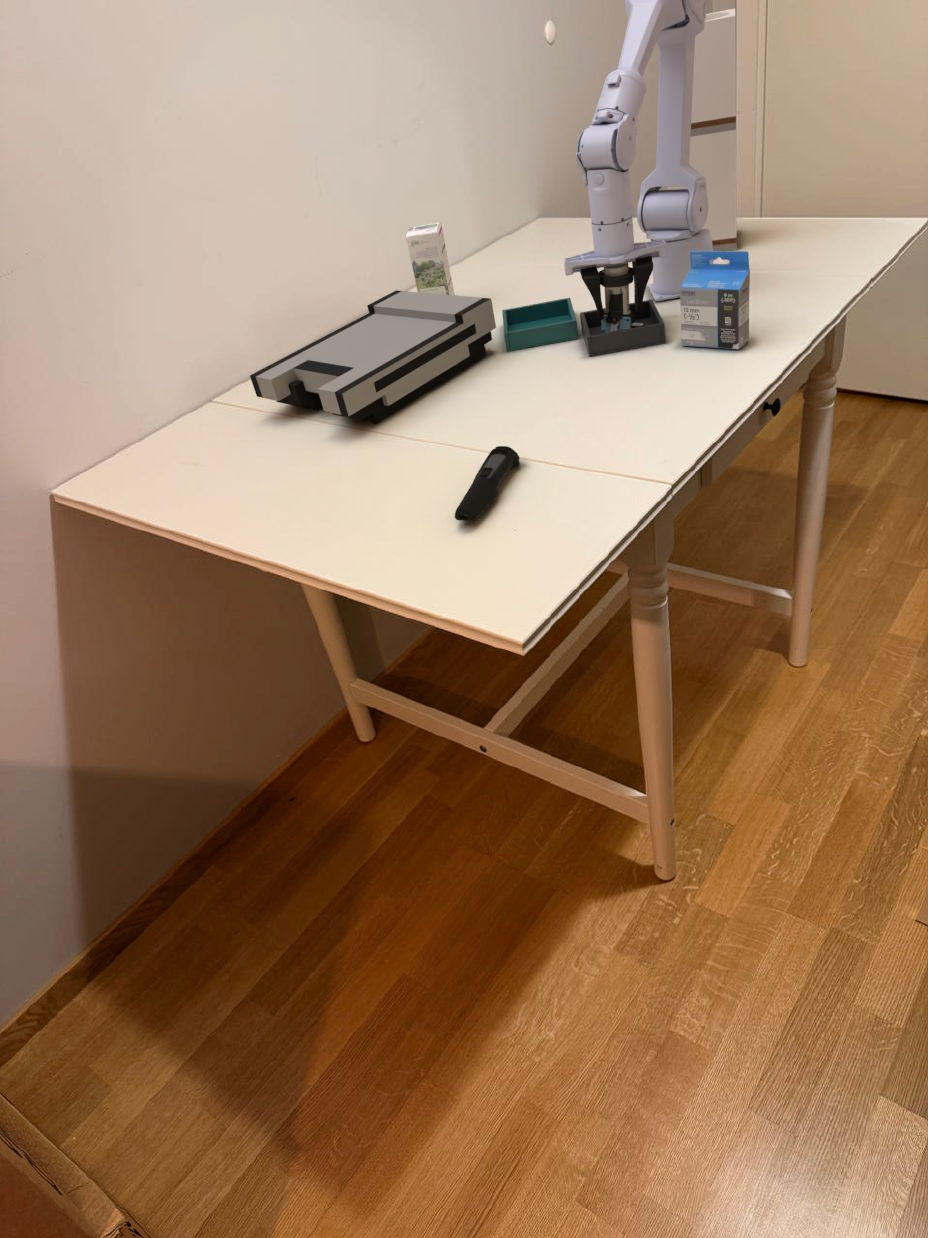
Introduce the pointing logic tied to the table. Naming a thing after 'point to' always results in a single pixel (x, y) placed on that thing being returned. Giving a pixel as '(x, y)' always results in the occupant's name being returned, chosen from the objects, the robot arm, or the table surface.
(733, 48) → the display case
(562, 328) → the box
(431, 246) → the syrup box
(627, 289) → the push button
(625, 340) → the right tote
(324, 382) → the game console
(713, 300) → the label tape box
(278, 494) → the table surface
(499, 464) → the electric trimmer
